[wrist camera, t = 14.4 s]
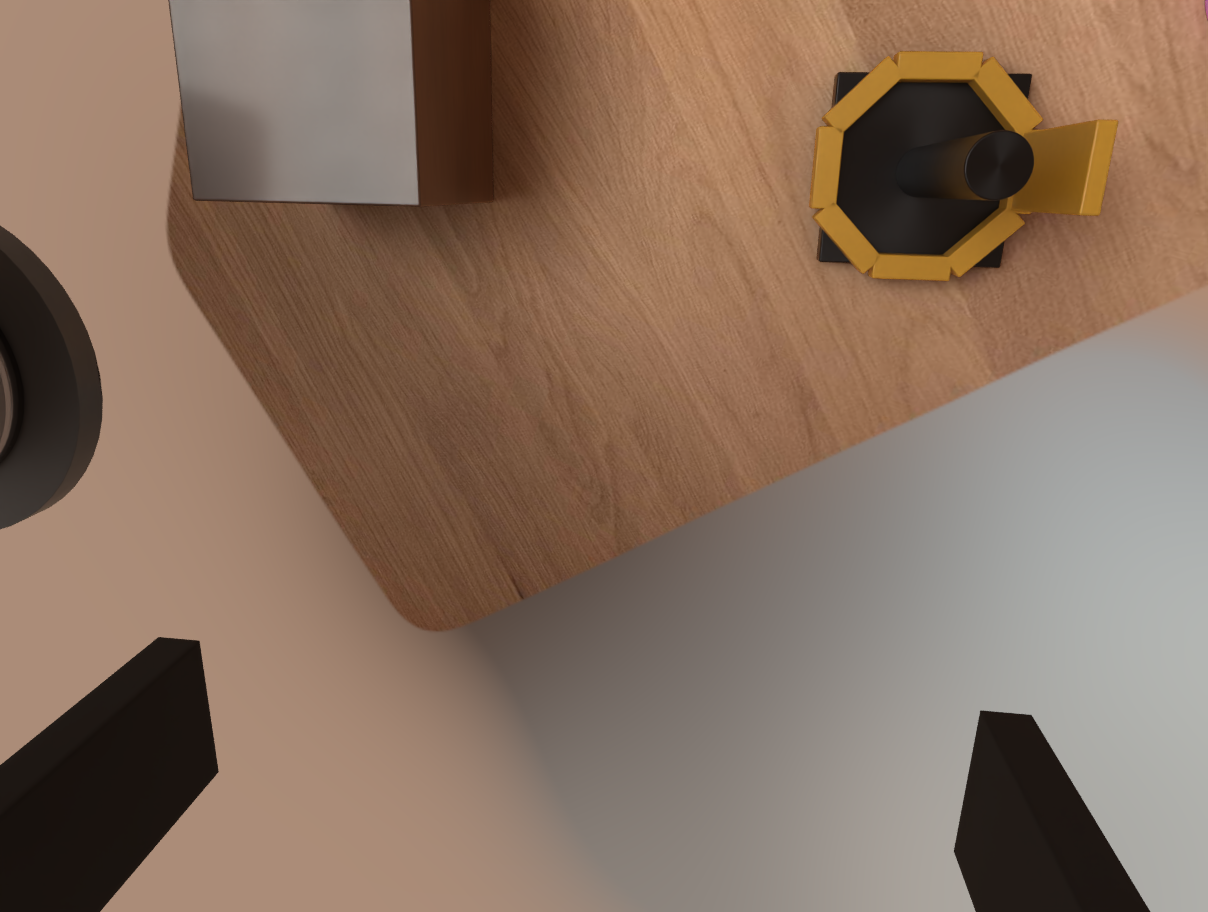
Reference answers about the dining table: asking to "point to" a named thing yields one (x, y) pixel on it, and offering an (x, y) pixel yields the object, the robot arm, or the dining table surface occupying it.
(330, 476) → the dining table surface
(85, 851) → the robot arm
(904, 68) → the ring
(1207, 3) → the bracket
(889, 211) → the post
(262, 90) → the block
